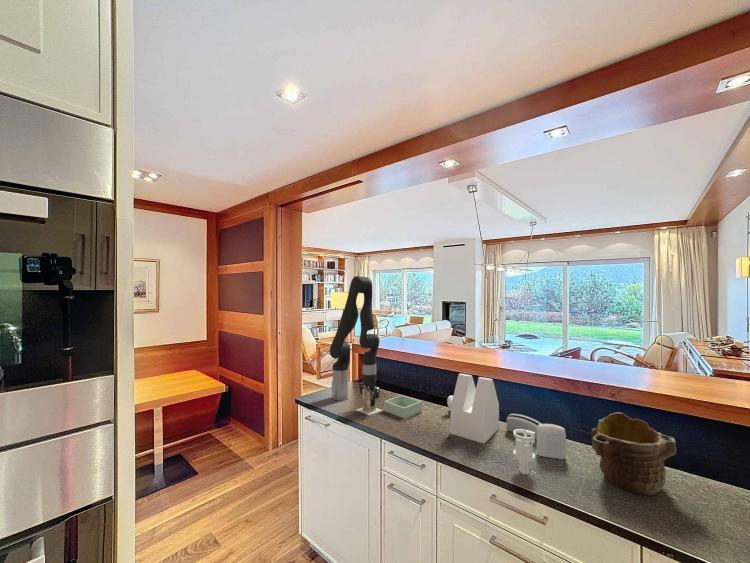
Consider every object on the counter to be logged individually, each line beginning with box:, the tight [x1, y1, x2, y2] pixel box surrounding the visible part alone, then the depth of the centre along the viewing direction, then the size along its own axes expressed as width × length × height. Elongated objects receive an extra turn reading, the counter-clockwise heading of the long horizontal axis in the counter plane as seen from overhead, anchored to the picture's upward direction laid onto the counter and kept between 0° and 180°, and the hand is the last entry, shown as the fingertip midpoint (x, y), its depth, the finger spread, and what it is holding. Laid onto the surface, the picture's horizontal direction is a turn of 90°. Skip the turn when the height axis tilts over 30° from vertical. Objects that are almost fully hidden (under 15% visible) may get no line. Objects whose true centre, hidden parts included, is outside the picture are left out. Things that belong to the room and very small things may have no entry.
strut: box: [362, 387, 377, 412], centre depth 173 cm, size 5×5×12 cm
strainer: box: [512, 429, 536, 475], centre depth 118 cm, size 7×7×15 cm
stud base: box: [356, 407, 383, 416], centre depth 173 cm, size 10×10×8 cm
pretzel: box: [446, 395, 454, 412], centre depth 171 cm, size 11×12×9 cm
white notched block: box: [450, 372, 500, 444], centre depth 151 cm, size 19×15×25 cm
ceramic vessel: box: [591, 411, 677, 496], centre depth 111 cm, size 23×24×25 cm
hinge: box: [506, 413, 543, 439], centre depth 147 cm, size 17×5×10 cm, turn 42°
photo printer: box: [536, 423, 567, 460], centre depth 129 cm, size 10×4×12 cm, turn 73°
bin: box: [383, 394, 423, 421], centre depth 172 cm, size 14×14×6 cm
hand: (369, 404), depth 173 cm, fingers closed on strut, 5 cm apart
